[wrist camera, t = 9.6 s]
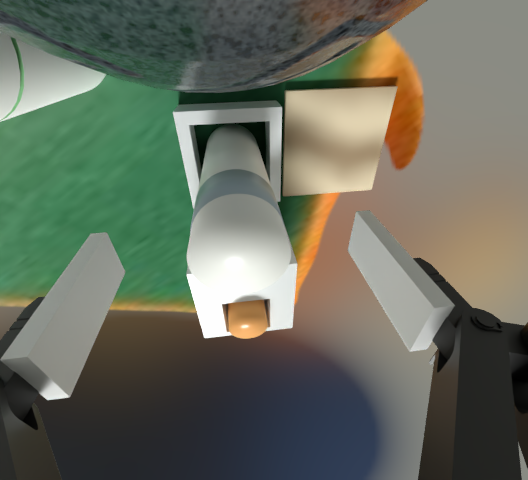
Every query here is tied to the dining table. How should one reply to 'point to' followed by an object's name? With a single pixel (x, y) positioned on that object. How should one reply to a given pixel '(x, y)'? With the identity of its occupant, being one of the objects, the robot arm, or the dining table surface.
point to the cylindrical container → (37, 78)
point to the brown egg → (247, 318)
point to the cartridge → (236, 218)
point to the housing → (283, 290)
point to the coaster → (334, 138)
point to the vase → (200, 37)
